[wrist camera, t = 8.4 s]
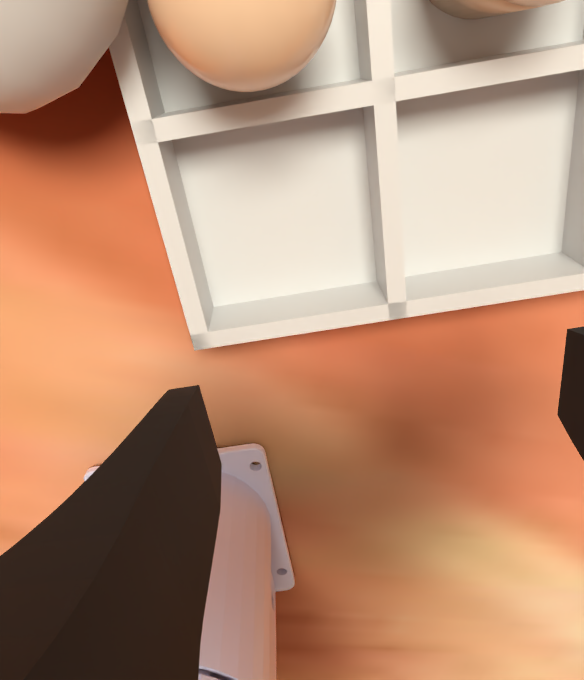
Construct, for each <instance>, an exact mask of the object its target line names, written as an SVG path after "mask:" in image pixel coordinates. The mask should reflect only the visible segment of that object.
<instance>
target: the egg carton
mask: <svg viewBox="0 0 584 680" xmlns="http://www.w3.org/2000/svg"><path fill="white" fill-rule="evenodd" d="M109 50H110V53H111V57H112V60H113V64H114V67H115V71H116V75H117V78H118V82H119V85H120V89H121V92H122V96H123V99H124V103H125V106H126V110H127V113H128V117H129V120H130V124H131V128H132V131H133V135H134V138H135V142H136V145H137V149H138V152H139V156H140V159H141V163H142V166H143V170H144V173H145V177H146V180H147V184H148V188H149V191H150V195H151V198H152V202H153V205H154V209H155V212H156V216H157V219H158V223H159V226H160V230H161V233H162V237H163V241H164V244H165V248H166V251H167V255H168V258H169V262H170V265H171V269H172V272H173V276H174V279H175V283H176V286H177V290H178V294H179V297H180V301H181V304H182V308H183V311H184V315H185V318H186V322H187V325H188V329H189V332H190V336H191V339H192V343H193V347H194V350H200V349H207V348H213V347H220V346H226V345H233V344H239V343H246V342H252V341H259V340H265V339H271V338H278V337H284V336H291V335H297V334H304V333H310V332H317V331H323V330H330V329H336V328H343V327H349V326H355V325H362V324H368V323H375V322H381V321H388V320H394V319H401V318H407V317H414V316H420V315H426V314H433V313H439V312H446V311H452V310H459V309H465V308H472V307H478V306H485V305H491V304H497V303H504V302H510V301H517V300H523V299H530V298H536V297H543V296H549V295H556V294H562V293H569V292H575V291H581V290H584V0H565V1H562V2H559V3H555V4H551V5H547V6H542V7H537V8H532V9H527V10H522V11H517V12H512V13H507V14H502V15H497V16H492V17H487V18H482V19H461V18H457V17H453V16H451V15H448V14H446V13H444V12H443V11H441V10H439V9H438V8H437V7H436V6H434V5H433V4H432V3H431V2H430V1H429V0H336V7H335V11H334V15H333V19H332V22H331V25H330V27H329V30H328V33H327V35H326V37H325V39H324V41H323V43H322V45H321V47H320V48H319V50H318V51H317V53H316V54H315V56H314V57H313V58H312V59H311V61H310V62H309V63H308V64H307V65H306V66H305V67H304V68H303V69H302V70H301V71H300V72H299V73H297V74H296V75H295V76H293V77H292V78H290V79H289V80H287V81H286V82H284V83H282V84H280V85H278V86H275V87H272V88H269V89H266V90H261V91H255V92H237V91H230V90H226V89H222V88H219V87H216V86H214V85H212V84H209V83H207V82H205V81H204V80H202V79H200V78H199V77H197V76H196V75H194V74H193V73H192V72H190V71H189V70H188V69H187V68H185V67H184V66H183V65H182V64H181V63H180V62H179V61H178V60H177V59H176V57H175V56H174V55H173V54H172V52H171V51H170V50H169V49H168V47H167V45H166V44H165V42H164V41H163V39H162V38H161V36H160V34H159V32H158V30H157V28H156V26H155V24H154V21H153V18H152V16H151V13H150V10H149V6H148V2H147V0H129V1H128V4H127V8H126V11H125V14H124V17H123V20H122V23H121V27H120V30H119V33H118V35H117V36H116V38H115V39H114V41H113V42H112V43H111V45H110V46H109Z"/></svg>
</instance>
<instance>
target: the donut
mask: <svg viewBox="0 0 584 680" xmlns="http://www.w3.org/2000/svg"><path fill="white" fill-rule="evenodd" d="M128 1H129V0H0V113H19V114H26V113H28V112H31V111H33V110H36V109H38V108H41V107H43V106H44V105H46V104H48V103H50V102H52V101H54V100H56V99H58V98H60V97H61V96H63V95H65V94H67V93H69V92H71V91H73V90H75V89H77V88H79V87H80V85H81V84H82V83H83V81H84V80H85V79H86V77H87V76H88V75H89V73H90V72H91V71H92V69H93V68H94V66H95V65H96V64H97V62H98V61H99V60H100V58H101V57H102V56H103V54H104V53H105V51H106V50H107V49H108V47H109V46H110V45H111V43H112V42H113V41H114V39H115V38H116V36H117V35H118V33H119V30H120V27H121V23H122V20H123V17H124V14H125V11H126V8H127V4H128Z"/></svg>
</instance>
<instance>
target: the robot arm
mask: <svg viewBox="0 0 584 680" xmlns="http://www.w3.org/2000/svg"><path fill="white" fill-rule="evenodd" d="M558 417H559V418H560V420H561V422H562V424H563V426H564V428H565V429H566V431H567V433H568V435H569V437H570V439H571V440H572V442H573V444H574V445H575V447H576V449H577V450H578V452H579V454H580V455H581V457H582V459H583V460H584V327H578V328H572V329H567V337H566V345H565V354H564V363H563V372H562V381H561V389H560V398H559V407H558ZM253 462H259V463H260V464H258V465H254V464H252V463H253ZM294 585H295V578H294V573H293V569H292V565H291V560H290V556H289V552H288V547H287V543H286V539H285V534H284V530H283V526H282V522H281V517H280V513H279V509H278V504H277V500H276V496H275V491H274V487H273V483H272V479H271V474H270V470H269V466H268V461H267V457H266V453H265V450H264V448H263V447H262V446H261V445H259V444H255V443H251V444H245V445H238V446H231V447H224V448H217V446H216V443H215V439H214V436H213V432H212V429H211V425H210V422H209V418H208V415H207V412H206V408H205V405H204V401H203V398H202V394H201V391H200V387H199V385H197V386H191V387H184V388H177V389H171V390H168V391H167V392H166V393H165V394H164V395H163V396H162V397H161V399H160V400H159V401H158V402H157V403H156V404H155V405H154V407H153V408H152V409H151V410H150V411H149V412H148V413H147V415H146V416H145V417H144V418H143V419H142V420H141V422H140V423H139V424H138V425H137V426H136V427H135V428H134V429H133V431H132V432H131V433H130V434H129V435H128V436H127V437H126V438H125V440H124V441H123V442H122V443H121V444H120V445H119V446H118V447H117V449H116V450H115V451H114V452H113V453H112V454H111V455H110V456H109V457H108V458H107V459H106V460H105V461H104V462H103V463H102V464H101V465H100V466H95V467H91V468H89V469H88V470H87V471H86V474H85V476H84V483H83V484H82V485H81V486H80V487H79V488H78V489H77V490H76V491H75V492H74V493H73V494H72V495H71V496H70V497H69V498H68V499H67V500H66V501H64V502H63V503H62V504H61V505H60V506H59V507H58V508H57V509H56V510H55V511H54V512H52V513H51V514H50V515H49V516H48V517H47V518H46V519H45V520H43V521H42V522H41V523H40V524H39V525H38V526H36V527H35V528H34V529H33V530H32V531H31V532H29V533H28V534H27V535H26V536H25V537H24V538H22V539H21V540H20V541H19V542H18V543H16V544H15V545H14V546H13V547H11V548H10V549H9V550H8V551H6V552H5V553H4V554H2V555H1V556H0V680H277V677H276V592H277V591H285V590H289V589H291V588H293V586H294Z"/></svg>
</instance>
